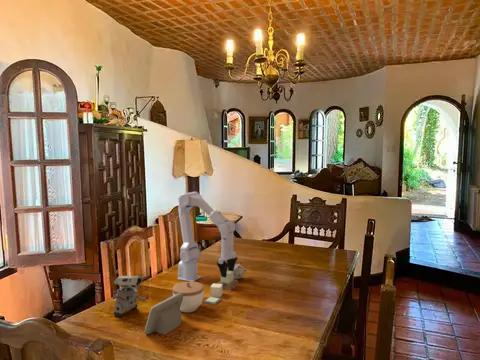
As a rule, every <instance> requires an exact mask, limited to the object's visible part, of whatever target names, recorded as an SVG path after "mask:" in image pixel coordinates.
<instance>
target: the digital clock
mask: <svg viewBox="0 0 480 360" xmlns="http://www.w3.org/2000/svg"><path fill="white" fill-rule="evenodd" d="M182 300H183V294H182V293H178V294H176V295H174V296H173V295H172V296H170V297H168V298H166V299H165V300H162V301H160V302H158V303H156V304H155V305H153V306H151V307H150V310H149V314H148V316H147V320H146V323H145V327H144V333H145V334H146V335H151V334H152V333H154V332H156V333H158V334H161V335H164V336H165V335H167V334H169V333H170V332H172V331H173V330H175V329H177V328H178V327H180V326H181V325H182V313H181V312H182V311H180V307H181V304H182Z"/></svg>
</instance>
